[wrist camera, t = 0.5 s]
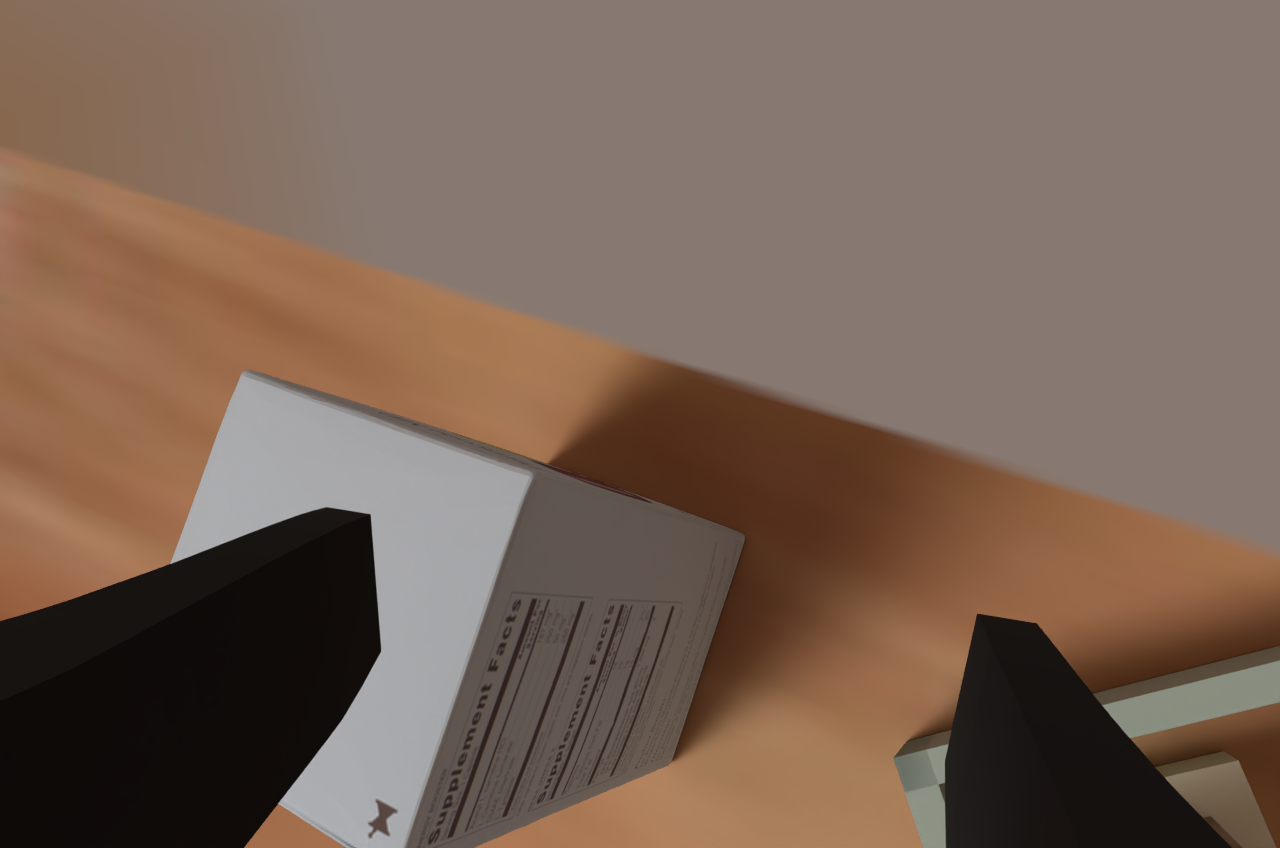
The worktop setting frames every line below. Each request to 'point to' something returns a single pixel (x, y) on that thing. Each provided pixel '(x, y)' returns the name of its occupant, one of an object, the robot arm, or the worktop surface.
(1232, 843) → the block
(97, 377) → the worktop surface
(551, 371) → the worktop surface
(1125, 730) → the crate
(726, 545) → the supplement box
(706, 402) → the worktop surface
